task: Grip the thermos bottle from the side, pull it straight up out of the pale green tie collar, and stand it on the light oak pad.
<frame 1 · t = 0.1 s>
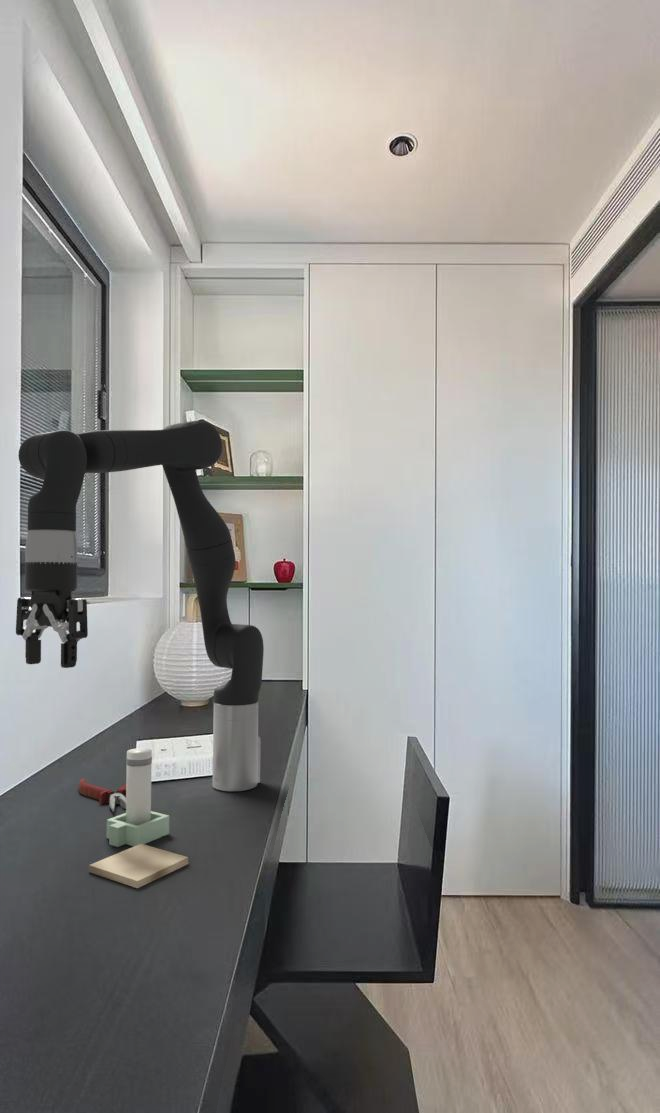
hand: (50, 665, 109), 29 cm above the table, tool pointing down, fingers open, 8 cm apart
pliers: (104, 801, 138), on the table
tie collar: (138, 835, 118), on the table
oak pad: (139, 867, 105), on the table
thermos bottle: (138, 836, 118), resting in tie collar
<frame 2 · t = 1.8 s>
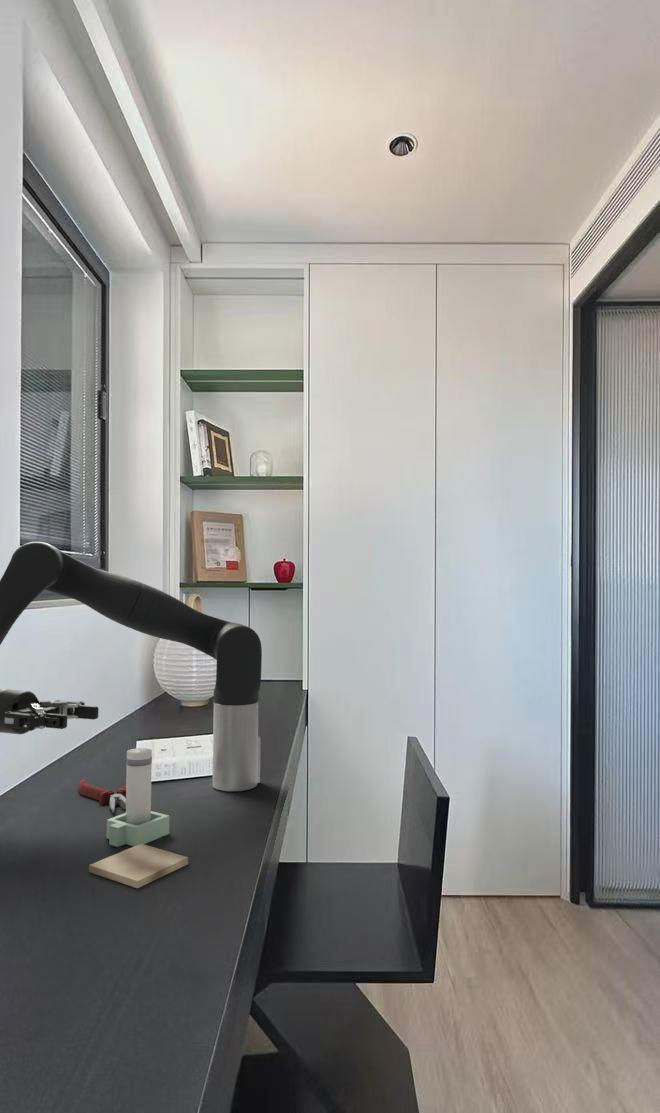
hand: (82, 717, 121), 19 cm above the table, tool horizontal, fingers open, 8 cm apart
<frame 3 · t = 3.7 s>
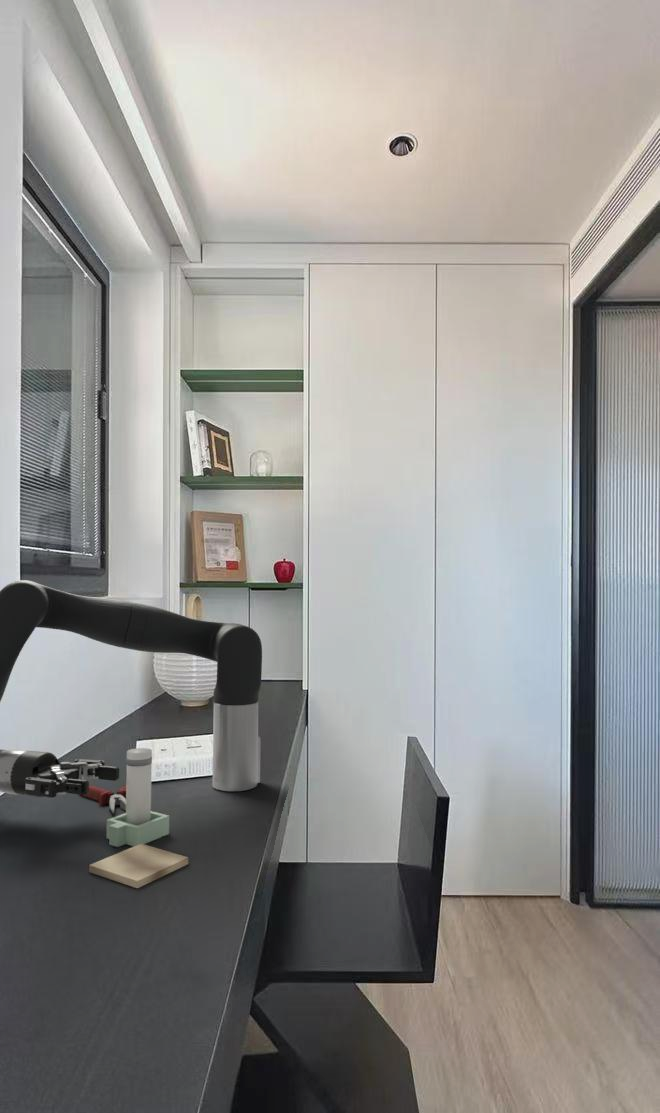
hand: (103, 780, 120), 8 cm above the table, tool horizontal, fingers open, 8 cm apart
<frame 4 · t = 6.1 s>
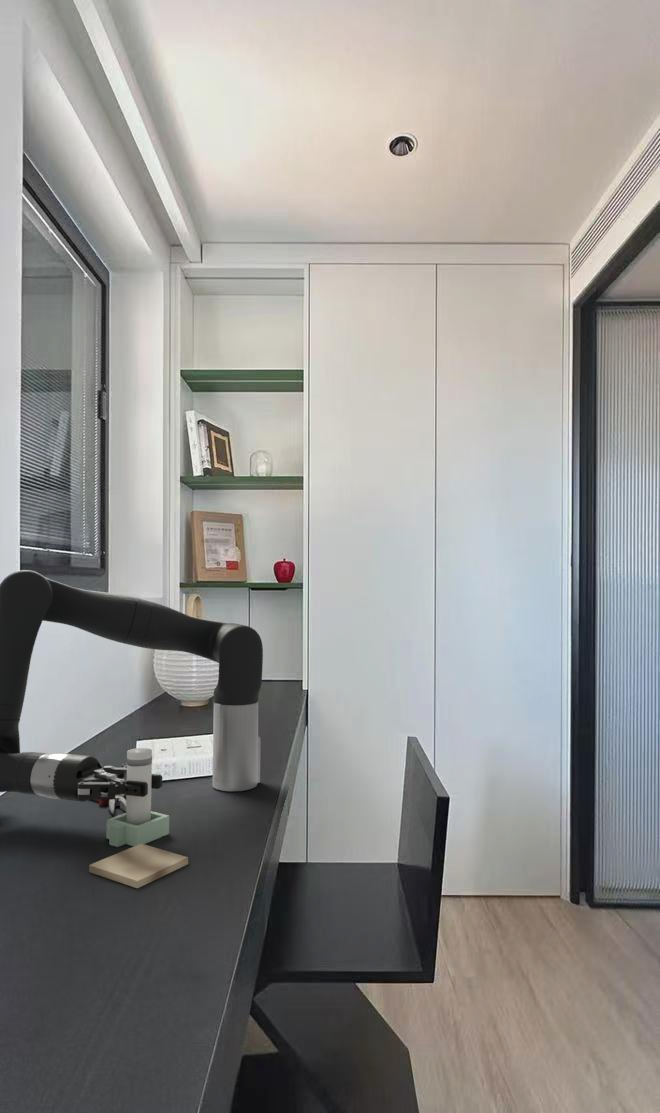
hand: (153, 785, 117), 8 cm above the table, tool horizontal, fingers closed on thermos bottle, 4 cm apart
thermos bottle: (138, 835, 118), resting in tie collar, touching gripper
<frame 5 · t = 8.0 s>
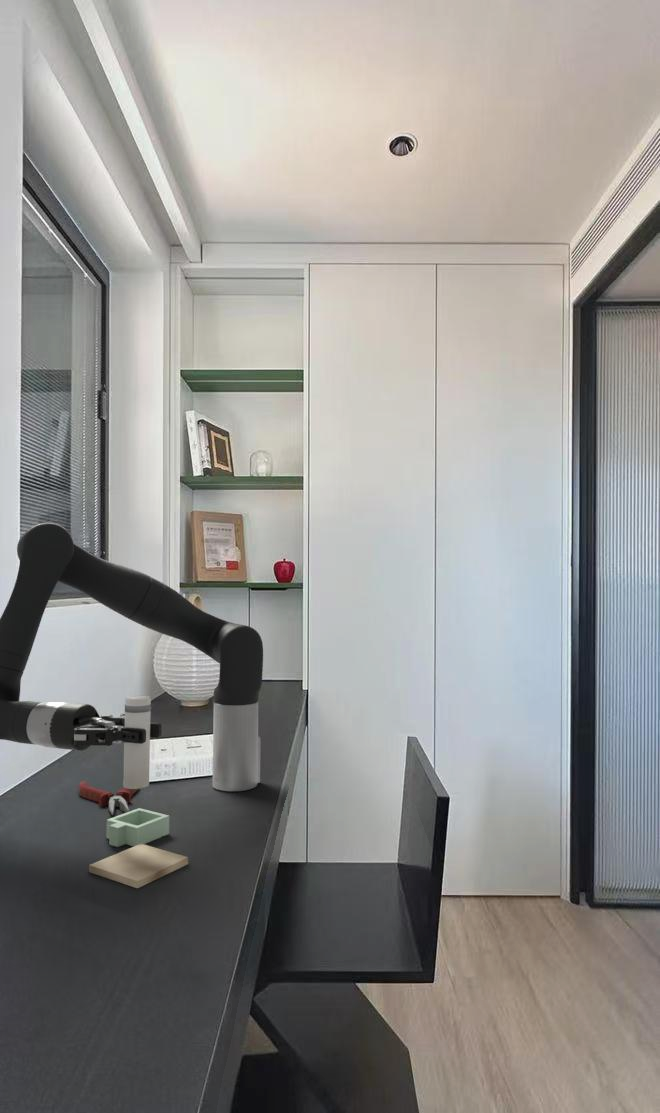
hand: (152, 733, 114), 18 cm above the table, tool horizontal, fingers closed on thermos bottle, 4 cm apart
thermos bottle: (136, 785, 114), point 9 cm above the table, touching gripper
when the fingers open (10 cm above the table, at t = 10.3 s): thermos bottle stays where it is, resting on oak pad.
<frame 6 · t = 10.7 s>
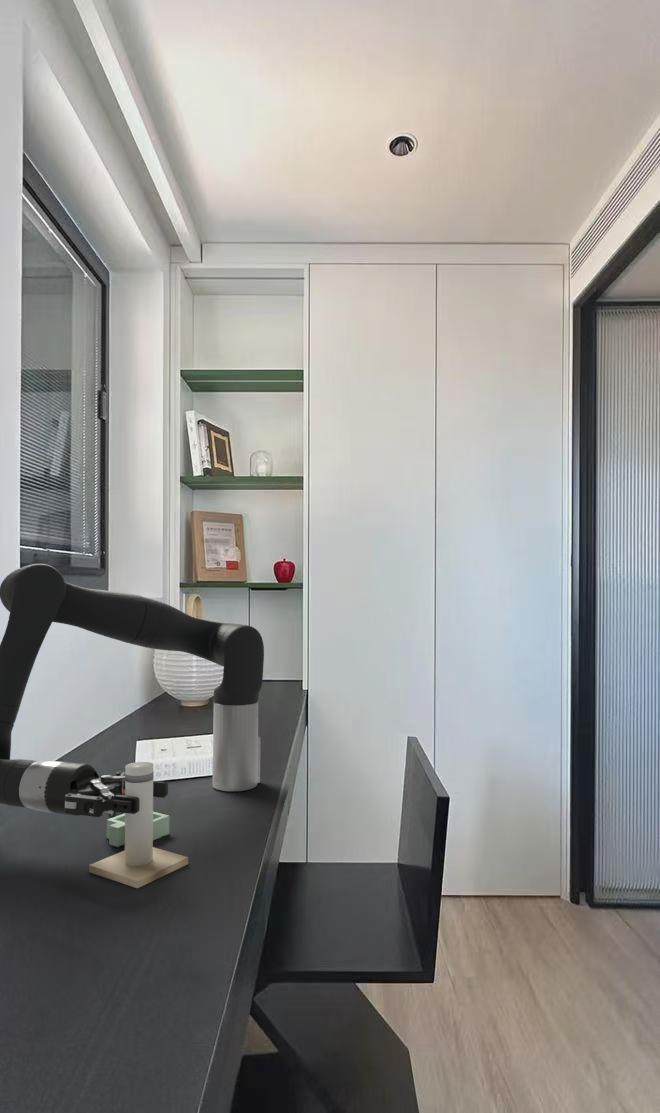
hand: (152, 797, 104), 11 cm above the table, tool horizontal, fingers open, 7 cm apart
thermos bottle: (138, 860, 105), point 1 cm above the table, touching oak pad
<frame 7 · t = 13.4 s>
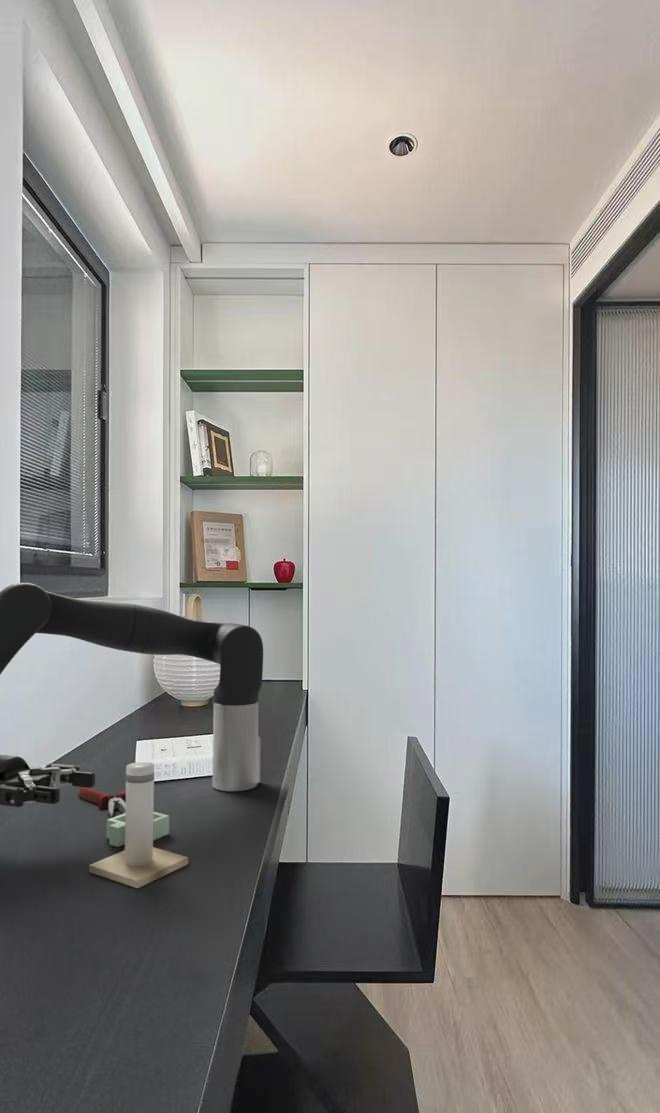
hand: (76, 788, 108), 11 cm above the table, tool horizontal, fingers open, 8 cm apart
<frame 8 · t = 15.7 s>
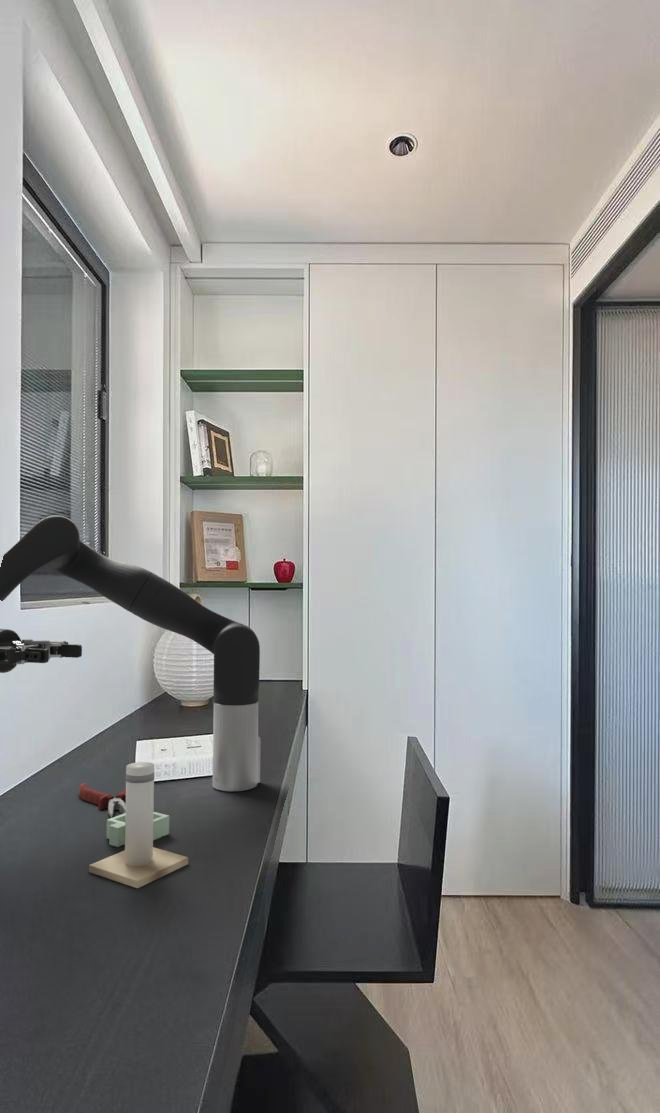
hand: (64, 653, 119), 30 cm above the table, tool horizontal, fingers open, 8 cm apart
at the end: thermos bottle inside the target area (0.1 cm from its centre), point 1.0 cm above the table; thermos bottle tilted 0°; the gripper is holding nothing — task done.
